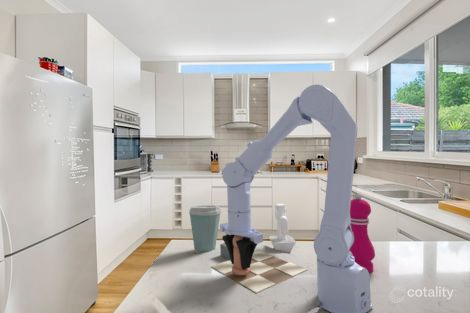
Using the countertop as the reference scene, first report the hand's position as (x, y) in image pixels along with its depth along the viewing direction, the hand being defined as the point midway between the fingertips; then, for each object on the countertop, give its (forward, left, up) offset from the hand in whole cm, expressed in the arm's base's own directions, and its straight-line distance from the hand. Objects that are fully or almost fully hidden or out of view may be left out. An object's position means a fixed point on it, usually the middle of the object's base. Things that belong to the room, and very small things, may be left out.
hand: (240, 265), depth 64 cm
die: (+12, -6, -4) cm, 14 cm away
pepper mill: (-16, -28, -4) cm, 32 cm away
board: (0, -6, -3) cm, 7 cm away
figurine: (+7, -23, -4) cm, 24 cm away
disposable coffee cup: (+23, -4, -4) cm, 24 cm away
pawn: (0, 0, -1) cm, 1 cm away
